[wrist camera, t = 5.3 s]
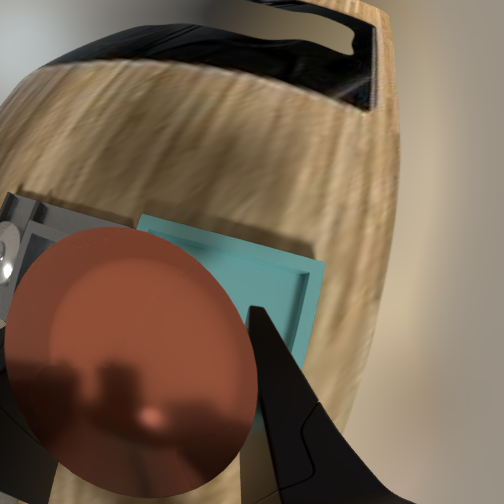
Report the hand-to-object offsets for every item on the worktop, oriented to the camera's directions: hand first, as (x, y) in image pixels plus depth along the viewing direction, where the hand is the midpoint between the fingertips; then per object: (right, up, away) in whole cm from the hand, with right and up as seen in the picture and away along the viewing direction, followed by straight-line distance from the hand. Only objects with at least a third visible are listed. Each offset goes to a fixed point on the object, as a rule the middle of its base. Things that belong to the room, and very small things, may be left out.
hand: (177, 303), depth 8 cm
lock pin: (-1, -3, +5) cm, 6 cm away
